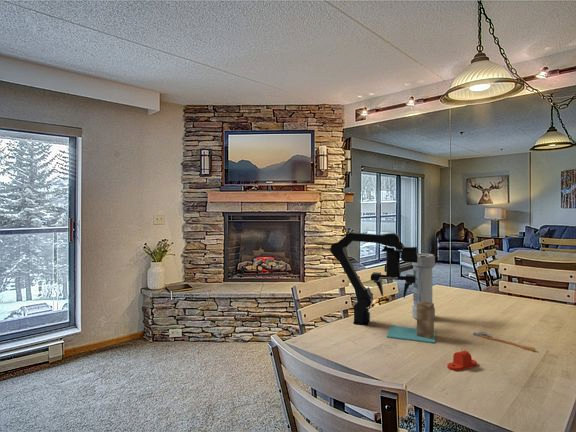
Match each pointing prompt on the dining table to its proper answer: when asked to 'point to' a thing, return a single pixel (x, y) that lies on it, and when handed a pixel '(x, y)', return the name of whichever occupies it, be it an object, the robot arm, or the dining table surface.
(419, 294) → the canister
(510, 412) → the dining table surface
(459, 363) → the bracket
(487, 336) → the axe
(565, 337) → the dining table surface
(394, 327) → the mat
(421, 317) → the walnut block
